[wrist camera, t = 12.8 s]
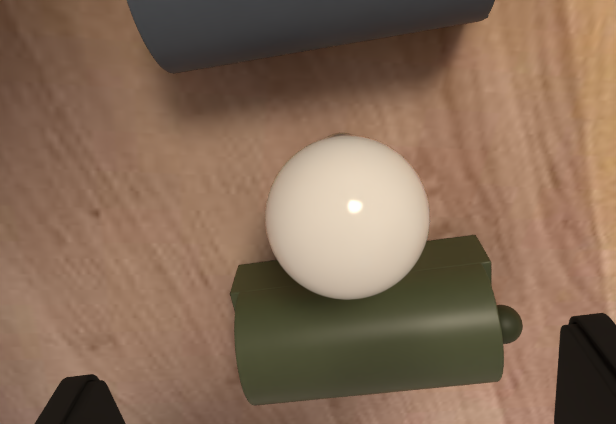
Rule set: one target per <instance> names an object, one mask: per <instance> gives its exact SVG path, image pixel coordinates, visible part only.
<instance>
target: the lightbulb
mask: <svg viewBox="0 0 616 424" xmlns="http://www.w3.org/2000/svg"><path fill="white" fill-rule="evenodd" d="M265 226H266V232H267V237H268V241H269V244H270V247H271V249H272V251H273V253H274V255H275V257H276V259H277V261H278V262H279V264H280V265H281V267H282V268H283V269H284V270H285V272H286V273H287V274H288V275H289V276H290V277H291V278H292V279H294V280H295V281H296V282H297V283H298V284H300V285H301V286H303V287H304V288H306V289H308V290H310V291H312V292H314V293H316V294H319V295H321V296H325V297H328V298H333V299H341V300H354V299H362V298H367V297H371V296H374V295H377V294H379V293H381V292H384V291H386V290H387V289H389V288H391V287H392V286H394V285H395V284H397V283H398V282H399V281H401V280H402V279H403V278H404V277H405V276H406V275H407V274H408V273H409V272H410V271H411V269H412V268H413V267H414V266H415V264H416V263H417V261H418V259H419V258H420V256H421V254H422V252H423V250H424V247H425V244H426V241H427V238H428V233H429V227H430V209H429V202H428V198H427V194H426V191H425V188H424V186H423V183H422V181H421V179H420V178H419V176H418V174H417V173H416V171H415V170H414V168H413V167H412V166H411V165H410V163H409V162H408V161H407V160H406V159H405V158H404V157H403V156H402V155H400V154H399V153H398V152H397V151H395V150H394V149H392V148H391V147H389V146H387V145H385V144H383V143H381V142H379V141H376V140H374V139H370V138H366V137H362V136H354V135H351V134H348V133H336V134H333V135H330V136H328V137H327V138H325V139H321V140H319V141H316V142H314V143H312V144H310V145H308V146H306V147H304V148H303V149H301V150H300V151H298V152H297V153H296V154H295V155H293V156H292V157H291V158H290V159H289V160H288V161H287V162H286V163H285V165H284V166H283V167H282V168H281V170H280V171H279V173H278V174H277V176H276V178H275V179H274V181H273V183H272V186H271V188H270V191H269V194H268V198H267V202H266V209H265Z"/></svg>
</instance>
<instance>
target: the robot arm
mask: <svg viewBox="0 0 616 424" xmlns="http://www.w3.org/2000/svg"><path fill="white" fill-rule="evenodd" d="M35 424H125V422H124V419H123V417H122V415H121V413H120V411H119V409H118V407H117V405H116V403H115V401H114V399H113V397H112V395H111V392H110V390H109V388H108V386H107V384H106V383H105V382H104V381H103V380H99V379H98V377H97V376H95V375H94V374H90V375H82V376H74V377H66V378H65V379H63V380H62V381H61V382H60V384H59V385H58V387H57V389H56V390H55V392H54V393H53V395H52V397H51V398H50V400H49V401H48V403H47V405H46V406H45V408H44V410H43V411H42V413H41V414H40V416H39V418H38V419H37V421H36V422H35ZM554 424H616V325H615V323H614V322H613V321H612V320H611V319H610V317H608V316H607V315H606V314H604V313H597V314H589V315H580V316H573V317H571V318H570V320H569V325H563V326H562V327H561V331H560V345H559V359H558V373H557V387H556V401H555V415H554Z"/></svg>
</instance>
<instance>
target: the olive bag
mask: <svg viewBox="0 0 616 424" xmlns="http://www.w3.org/2000/svg"><path fill="white" fill-rule="evenodd" d="M230 296H231V299H232V303H233V307H234V310H235V322H234V336H235V352H236V360H237V367H238V373H239V378H240V382H241V385H242V388H243V391H244V394H245V396H246V398H247V400H248V402H249V403H250V404H252V405H265V404H275V403H285V402H296V401H306V400H316V399H326V398H337V397H347V396H357V395H367V394H378V393H388V392H398V391H408V390H418V389H429V388H439V387H449V386H459V385H470V384H480V383H490V382H498V381H499V380H500V379H501V377H502V374H503V367H504V350H503V344H508V343H511V342H513V341H515V340H516V339H517V338H518V337H519V336H520V334H521V332H522V327H523V325H522V320H521V317H520V316H519V314H518V313H517V312H516V311H515V310H514V309H512V308H511V307H508V306H505V305H496V301H495V297H494V293H493V290H492V286H491V261H490V259H489V257H488V256H487V254H486V252H485V250H484V249H483V247H482V245H481V244H480V242H479V240H478V238H477V237H476V235H470V236H463V237H455V238H447V239H439V240H431V241H426V244H425V247H424V250H423V252H422V254H421V256H420V258H419V259H418V261H417V263H416V264H415V266H414V267H413V268H412V269H411V271H410V272H409V273H408V274H407V275H406V276H405V277H404V278H403V279H402V280H401V281H399V282H398V283H397V284H395V285H394V286H392V287H391V288H389V289H387V290H386V291H384V292H381V293H379V294H377V295H374V296H371V297H367V298H362V299H354V300H341V299H333V298H328V297H325V296H321V295H319V294H316V293H314V292H312V291H310V290H308V289H306V288H304V287H303V286H301V285H300V284H298V283H297V282H296V281H295V280H294V279H292V278H291V277H290V276H289V275H288V274H287V273H286V272H285V270H284V269H283V268H282V267H281V265H280V264H279V262H278V261H277V260H275V261H267V262H259V263H251V264H244V265H239V266H238V269H237V272H236V275H235V279H234V282H233V285H232V288H231V292H230Z"/></svg>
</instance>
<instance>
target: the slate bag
mask: <svg viewBox="0 0 616 424" xmlns="http://www.w3.org/2000/svg"><path fill="white" fill-rule="evenodd" d="M494 1H495V0H127V2H128V5H129V8H130V11H131V14H132V16H133V19H134V21H135V24H136V26H137V29H138V31H139V33H140V35H141V37H142V39H143V41H144V43H145V45H146V47H147V48H148V50H149V52H150V53H151V55H152V56H153V58H154V59H155V60H156V62H157V63H158V64H159V65H160V66H161V67H162V68H163V69H164V70H166V71H167V72H169V73H180V72H186V71H192V70H197V69H203V68H209V67H215V66H221V65H227V64H232V63H238V62H244V61H250V60H256V59H262V58H268V57H273V56H279V55H285V54H291V53H297V52H303V51H309V50H314V49H320V48H326V47H332V46H338V45H344V44H350V43H355V42H361V41H367V40H373V39H379V38H385V37H391V36H396V35H402V34H408V33H414V32H420V31H426V30H432V29H437V28H443V27H449V26H455V25H461V24H467V23H472V22H478V21H482V20H484V19H486V18H488V14H489V13H490V11H491V9H492V7H493V4H494Z"/></svg>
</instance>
